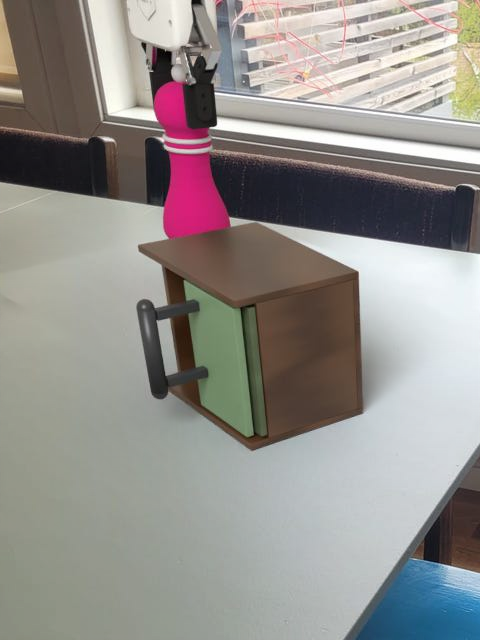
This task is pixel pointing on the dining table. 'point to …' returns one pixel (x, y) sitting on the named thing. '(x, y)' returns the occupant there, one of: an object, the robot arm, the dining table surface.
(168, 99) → the pepper mill
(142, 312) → the closet door
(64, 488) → the dining table surface
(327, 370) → the cupboard
